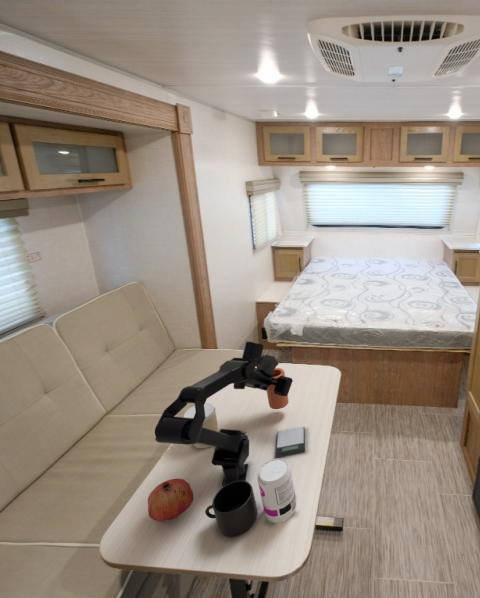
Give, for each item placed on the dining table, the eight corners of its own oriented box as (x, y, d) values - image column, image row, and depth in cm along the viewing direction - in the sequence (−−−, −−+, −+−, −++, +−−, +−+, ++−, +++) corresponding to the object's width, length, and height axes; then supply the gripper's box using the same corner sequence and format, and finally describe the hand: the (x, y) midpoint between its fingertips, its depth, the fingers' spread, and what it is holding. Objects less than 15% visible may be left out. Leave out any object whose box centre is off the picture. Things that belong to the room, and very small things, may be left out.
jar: (282, 410, 122) (277, 379, 117) (265, 408, 123) (260, 377, 118) (291, 398, 128) (287, 369, 123) (275, 396, 129) (270, 367, 124)
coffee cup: (227, 430, 120) (220, 403, 116) (211, 451, 112) (203, 422, 107) (202, 428, 121) (194, 401, 117) (184, 449, 113) (175, 420, 108)
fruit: (204, 495, 97) (196, 469, 93) (182, 530, 88) (173, 503, 84) (167, 494, 98) (158, 468, 94) (142, 528, 88) (131, 501, 85)
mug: (214, 508, 94) (207, 484, 90) (260, 500, 96) (255, 477, 92) (203, 543, 85) (195, 518, 82) (254, 534, 87) (248, 509, 84)
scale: (305, 451, 112) (304, 447, 111) (276, 457, 110) (275, 452, 109) (304, 430, 121) (304, 425, 120) (278, 435, 119) (277, 430, 118)
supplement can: (264, 528, 89) (255, 487, 83) (266, 500, 96) (258, 460, 90) (296, 520, 91) (289, 479, 85) (296, 493, 98) (290, 453, 92)
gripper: (285, 358, 110) (308, 369, 124) (240, 348, 116) (266, 360, 130) (272, 392, 106) (297, 400, 120) (226, 380, 112) (255, 389, 126)
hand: (279, 386), depth 124 cm, fingers closed on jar, 7 cm apart
